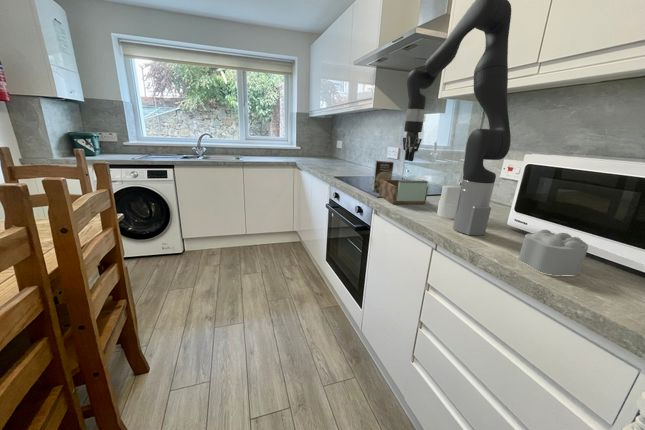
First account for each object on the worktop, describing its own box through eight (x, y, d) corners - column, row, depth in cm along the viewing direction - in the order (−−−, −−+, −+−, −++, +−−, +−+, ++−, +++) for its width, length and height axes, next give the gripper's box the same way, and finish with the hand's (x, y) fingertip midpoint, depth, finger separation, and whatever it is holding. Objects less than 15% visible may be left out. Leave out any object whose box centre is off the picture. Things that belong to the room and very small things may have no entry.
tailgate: (424, 201, 124) (427, 181, 122) (397, 200, 122) (400, 180, 120) (423, 200, 126) (426, 180, 123) (396, 200, 124) (398, 180, 121)
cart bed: (425, 204, 127) (427, 187, 124) (392, 204, 124) (394, 186, 122) (407, 195, 144) (409, 180, 141) (378, 195, 141) (380, 179, 139)
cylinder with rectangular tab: (450, 212, 116) (455, 184, 113) (466, 218, 108) (472, 188, 105) (432, 212, 114) (437, 184, 110) (447, 219, 106) (453, 189, 102)
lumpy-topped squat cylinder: (512, 257, 75) (520, 227, 72) (553, 256, 77) (563, 227, 74) (546, 277, 65) (557, 243, 62) (593, 275, 67) (606, 243, 64)
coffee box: (372, 191, 149) (375, 161, 144) (372, 189, 155) (374, 160, 150) (390, 192, 148) (393, 162, 143) (388, 190, 154) (392, 161, 149)
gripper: (430, 120, 114) (424, 162, 120) (414, 121, 128) (409, 159, 133) (413, 119, 113) (408, 162, 118) (399, 120, 126) (394, 158, 131)
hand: (408, 160), depth 125 cm, fingers open, 3 cm apart
